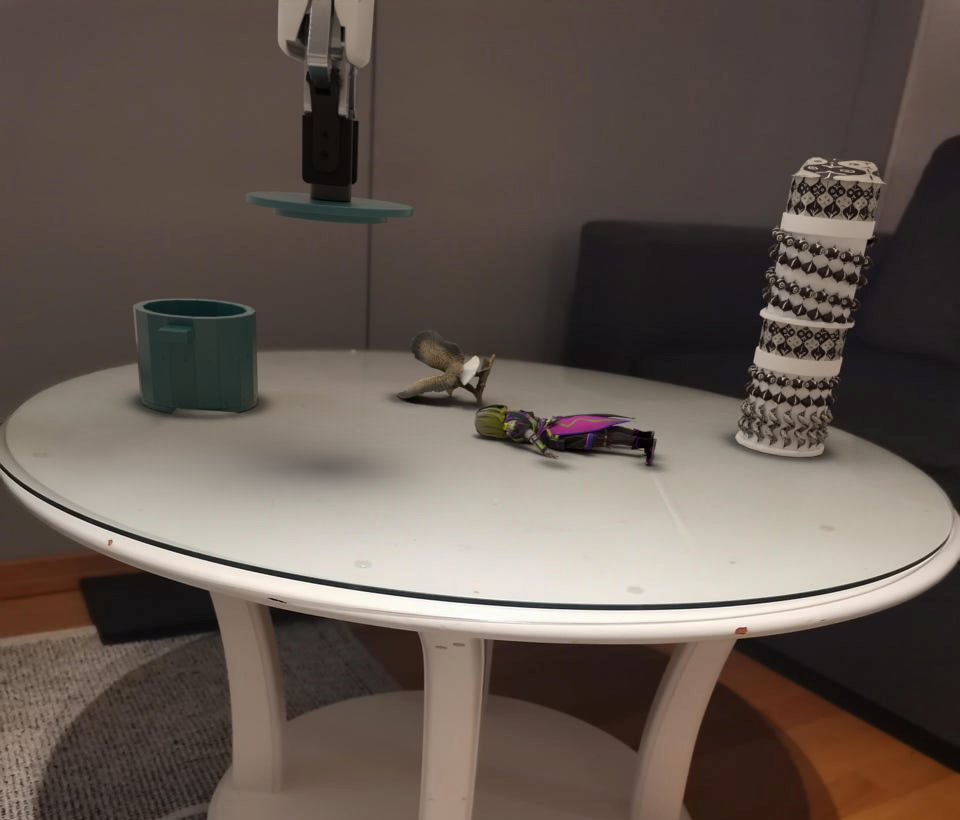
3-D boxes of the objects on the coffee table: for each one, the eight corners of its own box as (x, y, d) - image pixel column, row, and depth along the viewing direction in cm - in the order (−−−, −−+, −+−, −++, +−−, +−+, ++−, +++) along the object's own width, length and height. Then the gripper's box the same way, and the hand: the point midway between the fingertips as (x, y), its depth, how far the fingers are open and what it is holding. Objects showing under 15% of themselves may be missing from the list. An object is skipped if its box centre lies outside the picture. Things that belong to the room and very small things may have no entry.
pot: (116, 417, 85) (107, 317, 81) (167, 378, 99) (161, 291, 96) (238, 427, 86) (234, 327, 82) (271, 386, 100) (269, 299, 96)
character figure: (646, 449, 91) (477, 425, 91) (654, 409, 89) (481, 385, 90) (653, 479, 83) (467, 452, 83) (662, 436, 81) (472, 409, 81)
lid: (229, 215, 62) (225, 95, 59) (264, 204, 73) (263, 102, 70) (406, 231, 63) (412, 114, 60) (417, 219, 73) (422, 118, 70)
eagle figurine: (489, 382, 104) (409, 358, 104) (501, 332, 98) (415, 306, 98) (473, 434, 101) (389, 409, 100) (484, 386, 94) (395, 359, 94)
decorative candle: (751, 426, 101) (806, 157, 89) (840, 446, 96) (910, 165, 85) (716, 442, 94) (770, 153, 83) (809, 464, 89) (881, 161, 78)
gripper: (296, -127, 65) (295, 175, 74) (242, -203, 51) (250, 183, 59) (407, -115, 66) (394, 184, 74) (386, -188, 51) (373, 194, 60)
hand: (330, 181), depth 67 cm, fingers closed on lid, 2 cm apart
